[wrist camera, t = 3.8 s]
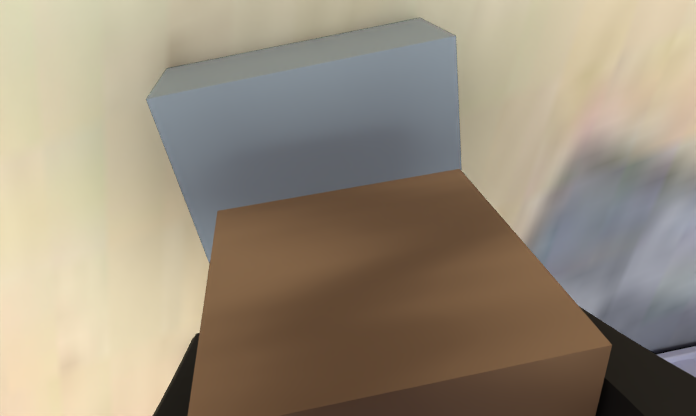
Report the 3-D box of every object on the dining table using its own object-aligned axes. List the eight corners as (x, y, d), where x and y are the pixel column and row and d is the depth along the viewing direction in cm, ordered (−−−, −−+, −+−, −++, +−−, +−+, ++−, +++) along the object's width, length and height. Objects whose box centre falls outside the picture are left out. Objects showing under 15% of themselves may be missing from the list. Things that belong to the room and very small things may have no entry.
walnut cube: (459, 168, 10) (612, 345, 6) (457, 341, 12) (562, 553, 8) (217, 211, 10) (183, 436, 5) (266, 380, 12) (271, 626, 8)
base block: (416, 16, 15) (455, 35, 12) (433, 223, 20) (465, 275, 16) (168, 66, 15) (145, 99, 12) (238, 267, 19) (235, 330, 16)
